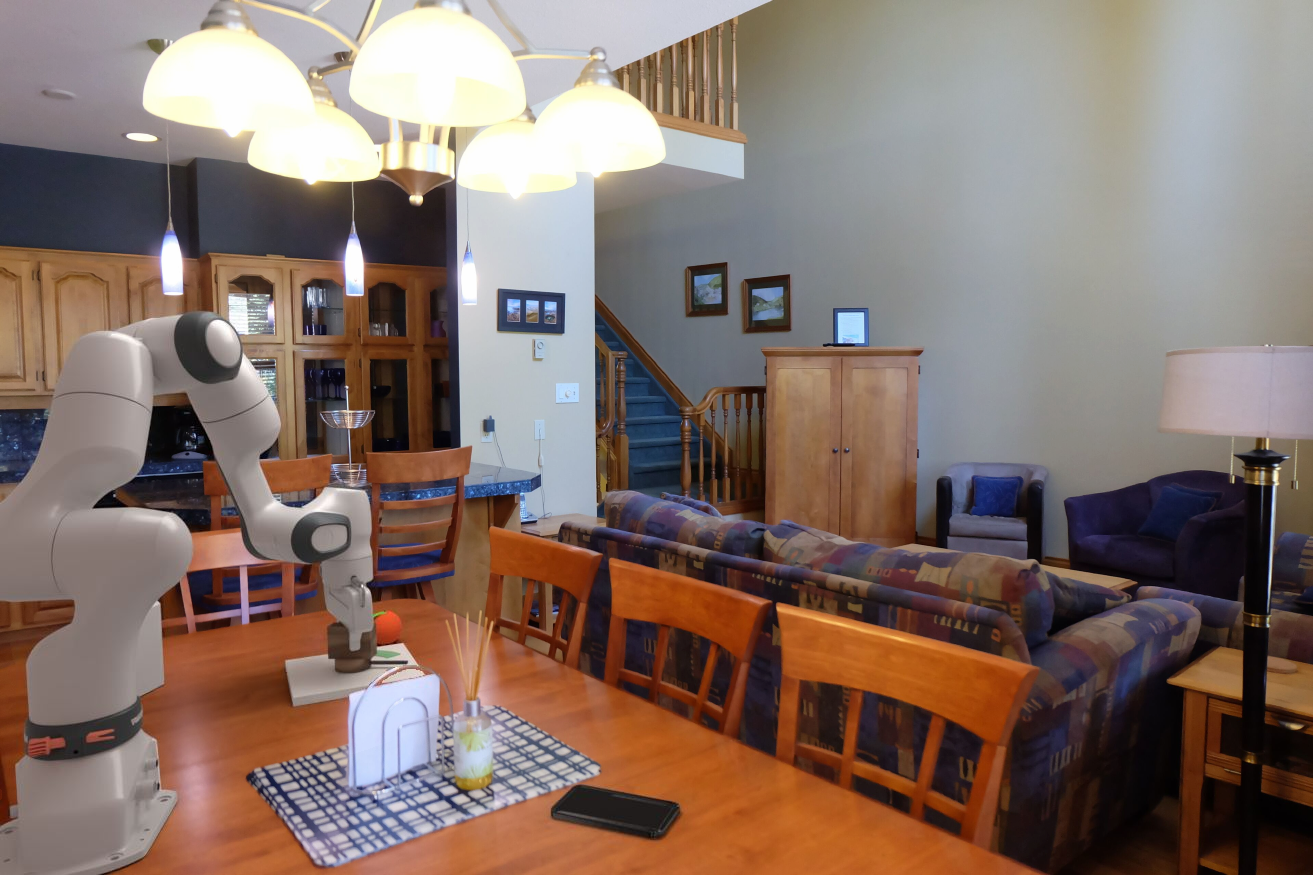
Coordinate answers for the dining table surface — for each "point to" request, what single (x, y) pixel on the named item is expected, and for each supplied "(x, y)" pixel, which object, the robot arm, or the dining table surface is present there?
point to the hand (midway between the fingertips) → (349, 645)
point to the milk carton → (150, 653)
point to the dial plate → (341, 675)
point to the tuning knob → (354, 659)
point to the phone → (616, 811)
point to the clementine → (387, 627)
